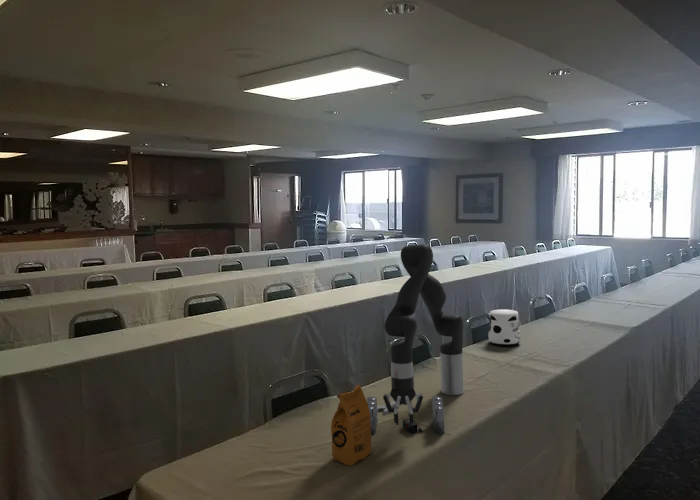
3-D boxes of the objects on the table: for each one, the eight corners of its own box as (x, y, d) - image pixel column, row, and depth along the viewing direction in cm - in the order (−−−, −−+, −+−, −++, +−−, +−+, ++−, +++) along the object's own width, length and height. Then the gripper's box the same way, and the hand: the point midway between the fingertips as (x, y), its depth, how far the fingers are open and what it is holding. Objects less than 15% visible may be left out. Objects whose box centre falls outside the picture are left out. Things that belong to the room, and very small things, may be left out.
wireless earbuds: (413, 435, 182) (412, 426, 181) (401, 428, 188) (401, 419, 188) (424, 432, 184) (423, 423, 183) (412, 425, 190) (412, 416, 190)
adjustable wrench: (409, 394, 222) (409, 390, 222) (422, 398, 218) (422, 394, 217) (371, 412, 204) (371, 408, 204) (384, 416, 199) (384, 412, 199)
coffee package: (327, 459, 167) (324, 392, 165) (353, 445, 176) (350, 381, 174) (350, 468, 160) (347, 399, 158) (376, 453, 169) (373, 387, 168)
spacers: (368, 419, 196) (367, 396, 196) (442, 419, 193) (441, 396, 192) (365, 434, 184) (364, 409, 183) (445, 434, 181) (444, 409, 180)
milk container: (526, 346, 286) (525, 313, 284) (496, 348, 283) (495, 316, 282) (512, 338, 303) (511, 308, 301) (483, 340, 301) (483, 310, 299)
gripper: (423, 370, 178) (424, 419, 179) (381, 370, 180) (383, 419, 181) (424, 377, 171) (425, 428, 172) (380, 377, 172) (382, 428, 173)
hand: (403, 423), depth 176 cm, fingers open, 4 cm apart
